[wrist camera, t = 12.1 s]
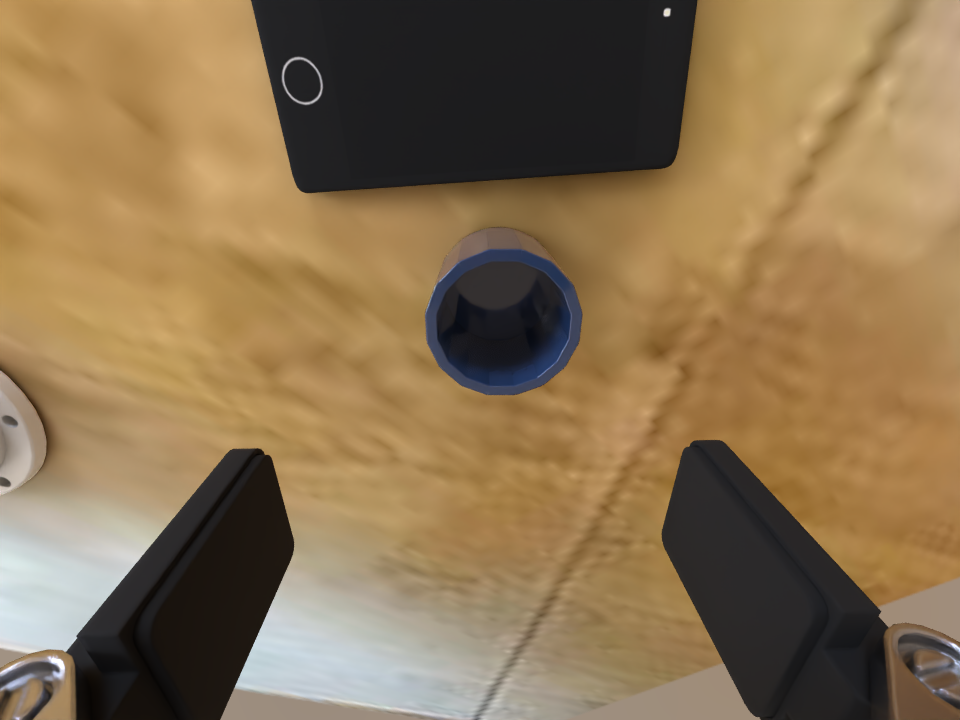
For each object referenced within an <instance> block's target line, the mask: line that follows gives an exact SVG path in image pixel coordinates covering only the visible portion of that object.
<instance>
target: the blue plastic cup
mask: <svg viewBox="0 0 960 720" xmlns="http://www.w3.org/2000/svg"><path fill="white" fill-rule="evenodd" d="M582 315H583V314H582V309H581V306H580V303H579V300H578V297H577V294H576V291H575V287H574V285H573V283H572V282H571V281H570V280H569V278H568V277H567V276H566V274H565V273H564V272H563V270H562V269H561V268H560V266H559V265H558V264H557V263H556V261H555V260H554V259H553V257H552V256H551V255H550V254H549V253H548V252H547V251H546V249H545V248H544V247H543V246H542V245H541V244H540V243H539V242H538V241H537V240H536V239H535V238H533V237H531V236H530V235H528V234H526V233H524V232H522V231H519V230H516V229H512V228H506V227H492V228H486V229H482V230H479V231H476V232H474V233H472V234H470V235H468V236H466V237H465V238H463V239H462V240H460V241H459V242H458V243H457V244H456V245H455V246H454V247H453V248H452V250H451V251H450V252H449V253H448V255H447V256H446V258H445V259H444V262H443V264H442V267H441V270H440V272H439V275H438V277H437V280H436V283H435V286H434V289H433V292H432V294H431V297H430V300H429V303H428V306H427V309H426V311H425V323H426V340H427V344H428V346H429V348H430V350H431V352H432V354H433V356H434V358H435V359H436V361H437V363H438V365H439V367H440V368H441V369H442V370H443V371H445V372H446V373H447V374H448V375H449V376H450V377H452V378H453V379H454V380H455V381H456V382H457V383H459V384H460V385H461V386H464V387H466V388H469V389H472V390H475V391H477V392H480V393H483V394H486V395H487V394H488V395H515V394H516V395H517V394H520V393H523V392H526V391H529V390H532V389H534V388H537V387H540V386H542V385H544V384H545V383H547V382H548V381H549V380H550V379H551V378H553V377H554V376H555V375H556V374H558V373H559V372H560V371H561V370H562V369H564V367H565V366H566V365H567V363H568V361H569V360H570V358H571V356H572V354H573V352H574V351H575V349H576V347H577V345H578V344H579V341H580V332H581V324H582Z"/></svg>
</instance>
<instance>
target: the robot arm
mask: <svg viewBox="0 0 960 720" xmlns="http://www.w3.org/2000/svg"><path fill="white" fill-rule="evenodd" d="M46 446H47V440H46V436H45V432H44V428H43V424H42V422H41V420H40V418H39V416H38V414H37V412H36V410H35V408H34V407H33V405H32V404H31V402H30V401H29V400H28V398H27V397H26V395H25V394H24V393H23V392H22V391H21V389H20V388H19V387H18V386H17V385H16V384H15V383H14V382H13V381H12V380H11V379H10V378H9V377H8V376H7V375H6V374H5V373H3V372H2V371H1V370H0V495H3V494H6V493H9V492H10V491H12V490H14V489H16V488H18V487H20V486H21V485H22V484H24V483H25V482H26V481H28V480H29V479H30V478H32V477H33V476H35V475H36V473H37V472H38V471H39V469H40V468H41V467H42V465H43V463H44V460H45V457H46ZM662 542H663V545H664V548H665V550H666V552H667V554H668V556H669V558H670V560H671V562H672V563H673V565H674V567H675V569H676V571H677V573H678V575H679V577H680V579H681V581H682V583H683V585H684V587H685V589H686V591H687V593H688V594H689V596H690V598H691V600H692V602H693V604H694V606H695V608H696V610H697V612H698V614H699V616H700V618H701V620H702V622H703V624H704V625H705V627H706V629H707V631H708V633H709V635H710V637H711V639H712V641H713V643H714V645H715V647H716V649H717V651H718V653H719V655H720V656H721V658H722V660H723V662H724V664H725V666H726V668H727V670H728V672H729V674H730V676H731V678H732V680H733V681H734V684H735V685H736V687H737V689H738V691H739V693H740V695H741V697H742V699H743V701H744V703H745V704H746V706H747V708H748V710H749V711H750V712H751V713H752V714H753V715H754V716H756V717H760V719H761V720H960V642H958V641H956V640H954V639H953V638H951V637H949V636H947V635H945V634H943V633H941V632H938V631H935V630H933V629H930V628H927V627H925V626H922V625H916V624H910V623H901V624H893V625H892V626H891V627H888V626H887V625H886V624H885V623H884V622H883V621H882V620H881V619H880V618H879V617H878V616H879V614H880V613H881V611H880V610H879V609H878V607H877V606H876V605H875V604H874V603H873V602H872V601H871V600H870V599H869V598H868V597H867V596H866V595H865V593H864V592H863V591H862V590H861V589H860V588H859V587H858V586H857V585H856V584H855V583H854V582H853V581H852V579H851V578H850V577H849V576H848V575H847V574H846V573H845V572H844V571H843V570H842V569H841V568H840V566H839V565H838V564H837V563H836V562H835V561H834V560H833V559H832V558H831V557H830V556H829V555H828V554H827V552H826V551H825V550H824V549H823V548H822V547H821V546H820V545H819V544H818V543H817V542H816V541H815V540H814V538H813V537H812V536H811V535H810V534H809V533H808V532H807V531H806V530H805V529H804V528H803V527H802V526H801V524H800V523H799V522H798V521H797V520H796V519H795V518H794V517H793V516H792V515H791V514H790V513H789V511H788V510H787V509H786V508H785V507H784V506H783V505H782V504H781V503H780V502H779V501H778V500H777V499H776V497H775V496H774V495H773V494H772V493H771V492H770V491H769V490H768V489H767V488H766V487H765V486H764V485H763V483H762V482H761V481H760V480H759V479H758V478H757V477H756V476H755V475H754V474H753V473H752V472H751V470H750V469H749V468H748V467H747V466H746V465H745V464H744V463H743V462H742V461H741V460H740V459H739V458H738V456H737V455H736V454H735V453H734V452H733V451H732V450H731V449H730V448H729V447H728V446H727V445H726V444H725V443H724V442H723V441H720V440H696V441H693V442H692V443H691V444H690V446H689V447H686V448H685V449H684V450H683V452H682V456H681V460H680V464H679V468H678V471H677V475H676V479H675V483H674V487H673V491H672V494H671V498H670V502H669V506H668V510H667V514H666V517H665V521H664V525H663V529H662ZM293 551H294V539H293V535H292V531H291V528H290V524H289V520H288V517H287V513H286V509H285V505H284V502H283V498H282V494H281V491H280V487H279V483H278V479H277V476H276V472H275V468H274V464H273V461H272V458H271V457H270V455H265V454H264V452H263V451H262V450H261V449H258V448H257V449H232V450H230V451H229V452H228V453H227V454H226V455H225V456H224V458H223V459H222V460H221V461H220V462H219V464H218V465H217V466H216V467H215V468H214V470H213V471H212V472H211V473H210V475H209V476H208V477H207V478H206V479H205V481H204V482H203V483H202V484H201V485H200V487H199V488H198V489H197V490H196V492H195V493H194V494H193V495H192V496H191V498H190V499H189V500H188V501H187V502H186V504H185V505H184V506H183V507H182V509H181V510H180V511H179V512H178V513H177V515H176V516H175V517H174V518H173V519H172V521H171V522H170V523H169V524H168V525H167V527H166V528H165V529H164V530H163V532H162V533H161V534H160V535H159V536H158V538H157V539H156V540H155V541H154V542H153V544H152V545H151V546H150V547H149V549H148V550H147V551H146V552H145V553H144V555H143V556H142V557H141V558H140V559H139V561H138V562H137V563H136V564H135V566H134V567H133V568H132V569H131V570H130V572H129V573H128V574H127V575H126V576H125V578H124V579H123V580H122V581H121V582H120V584H119V585H118V586H117V587H116V589H115V590H114V591H113V592H112V593H111V595H110V596H109V597H108V598H107V599H106V601H105V602H104V603H103V604H102V606H101V607H100V608H99V609H98V610H97V612H96V613H95V614H94V615H93V616H92V618H91V619H90V620H89V621H88V623H87V624H86V625H85V626H84V627H83V629H82V630H81V631H80V632H79V633H78V635H77V639H76V641H75V642H74V643H73V644H72V645H71V647H70V648H69V649H68V650H67V652H64V651H63V650H44V651H40V652H35V653H31V654H28V655H26V656H24V657H21V658H19V659H16V660H14V661H12V662H9V663H8V664H6V665H4V666H3V667H1V668H0V720H220V719H221V716H222V714H223V712H224V710H225V708H226V705H227V703H228V701H229V699H230V696H231V694H232V692H233V690H234V687H235V685H236V683H237V680H238V678H239V676H240V674H241V671H242V669H243V667H244V665H245V662H246V660H247V658H248V656H249V653H250V651H251V649H252V647H253V644H254V642H255V640H256V637H257V635H258V633H259V631H260V628H261V626H262V624H263V622H264V619H265V617H266V615H267V613H268V610H269V608H270V606H271V604H272V601H273V599H274V597H275V594H276V592H277V590H278V588H279V585H280V583H281V581H282V579H283V576H284V574H285V572H286V570H287V567H288V565H289V563H290V561H291V558H292V555H293Z"/></svg>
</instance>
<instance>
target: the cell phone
mask: <svg viewBox="0 0 960 720" xmlns="http://www.w3.org/2000/svg"><path fill="white" fill-rule="evenodd" d="M251 2H252V6H253V10H254V14H255V19H256V23H257V27H258V31H259V35H260V40H261V44H262V48H263V52H264V56H265V61H266V65H267V69H268V73H269V77H270V82H271V86H272V90H273V94H274V99H275V103H276V107H277V111H278V115H279V120H280V124H281V128H282V132H283V136H284V141H285V145H286V149H287V153H288V157H289V162H290V166H291V170H292V174H293V177H294V180H295V183H296V185H297V187H298V188H299V190H300V191H302V192H305V193H316V192H330V191H345V190H359V189H374V188H388V187H403V186H417V185H432V184H446V183H461V182H475V181H490V180H504V179H519V178H533V177H548V176H562V175H576V174H591V173H605V172H620V171H634V170H649V169H662V168H666V167H669V166H670V165H671V164H672V163H673V162H674V160H675V158H676V155H677V151H678V147H679V139H680V131H681V123H682V116H683V108H684V100H685V92H686V85H687V77H688V69H689V61H690V54H691V46H692V38H693V30H694V23H695V15H696V7H697V0H251Z"/></svg>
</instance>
